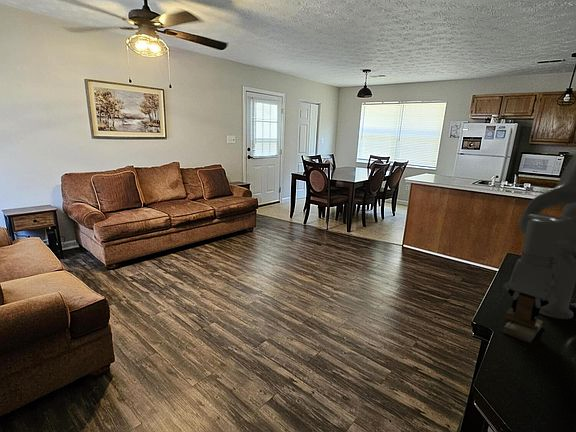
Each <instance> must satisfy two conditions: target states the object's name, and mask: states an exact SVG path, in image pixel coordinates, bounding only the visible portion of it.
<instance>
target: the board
mask: <svg viewBox="0 0 576 432" xmlns="http://www.w3.org/2000/svg"><path fill="white" fill-rule="evenodd" d="M543 323H544V321H543V320H541V319H538V318H537V321H536V324H535V325H534V327H533V328H531V327H528V326H526V325H523V324H520V323H518V322H515V321H512V320H510V321H509V322H508V323H507V324H505V325H504V326H503V330H502V333H504V334H506V335H509V336H511V337H514V338H515V339H519V340H521V341H524V342H526V343H529V344H531V343H532V341H533V340H534V339H535V337H536V336H537V335H538V334H539V331H540V330H541V329H542V328H543Z"/></svg>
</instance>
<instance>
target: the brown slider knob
mask: <svg viewBox="0 0 576 432" xmlns="http://www.w3.org/2000/svg"><path fill="white" fill-rule="evenodd" d="M535 304H536V303H535V297H533V296H530V295H527V294H523V293H520V294H519V296H518V301H517V306H516V310H515V312H513V309H514V308H509V309H508V310H507V311H506V312H505V316H504V321H503V324H505V325H506V324H507V323H508V322H509V321H510V320H512V321H515V322H518V323H520V324H523V325H526V326H528V327H531V328H533V327H534V325H535V324H536V321H537V319H538V317H537V316H536V317H535V318H534V319H532V318H531V315H532V310H533V307H534V305H535Z"/></svg>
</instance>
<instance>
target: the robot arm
mask: <svg viewBox="0 0 576 432" xmlns="http://www.w3.org/2000/svg"><path fill="white" fill-rule="evenodd" d="M563 205H564V207H563V209H562V211H561V217H559V216H555V215H549V214H548V215H547V214H542V212H543V211H544V210H547V209H549V208H553V207H558V206H563ZM518 229H519V232H520V233H521V234H523V235H524V240H523V243H522V244H523V245H522V248H521V255H520V258H518V259H517V260H516V263H515V265H514V267H513V270H512V272H511V277H510V279H509V280H507V281H506V282H505V283H503V284H502V288H503V289H505V291H507V293H508V294H509V295H510V296H511V299H512V304H511V309H513V312H515V310H516V306H517V301H518V296H519V294H520V293H523V294H527V295H530V296H533V297H535V303H536V304H535V305H534V307H533V310H532V315H531V318H532V319H534V318H535V317H536V318H538V317H539V315H543V316H546V317H549V318H553V319H558V320H570V319H573V317H574V315H575V314H574V312H573V311H572V310H571V309H570V304H571V301H572V295H573V291H574V289H575V284H576V257H574V256H576V153H575V154H574V155H572V157H571V158H570V160H569V162H568V164H567V165H566V167H565V169H564V170H563V173H562V175H561V177H560V179H559V180H558V182H557V183H556V185H555V187H553V188H551V189H548V190H546V191H544V192H542V193H540V194H539V195H538V196H535V197H534V198H533V199H531V201H529V203H528V204H527V205H526V207H525V209H524V211H523V212H522V214H521V216H520V219H519V221H518Z"/></svg>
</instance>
